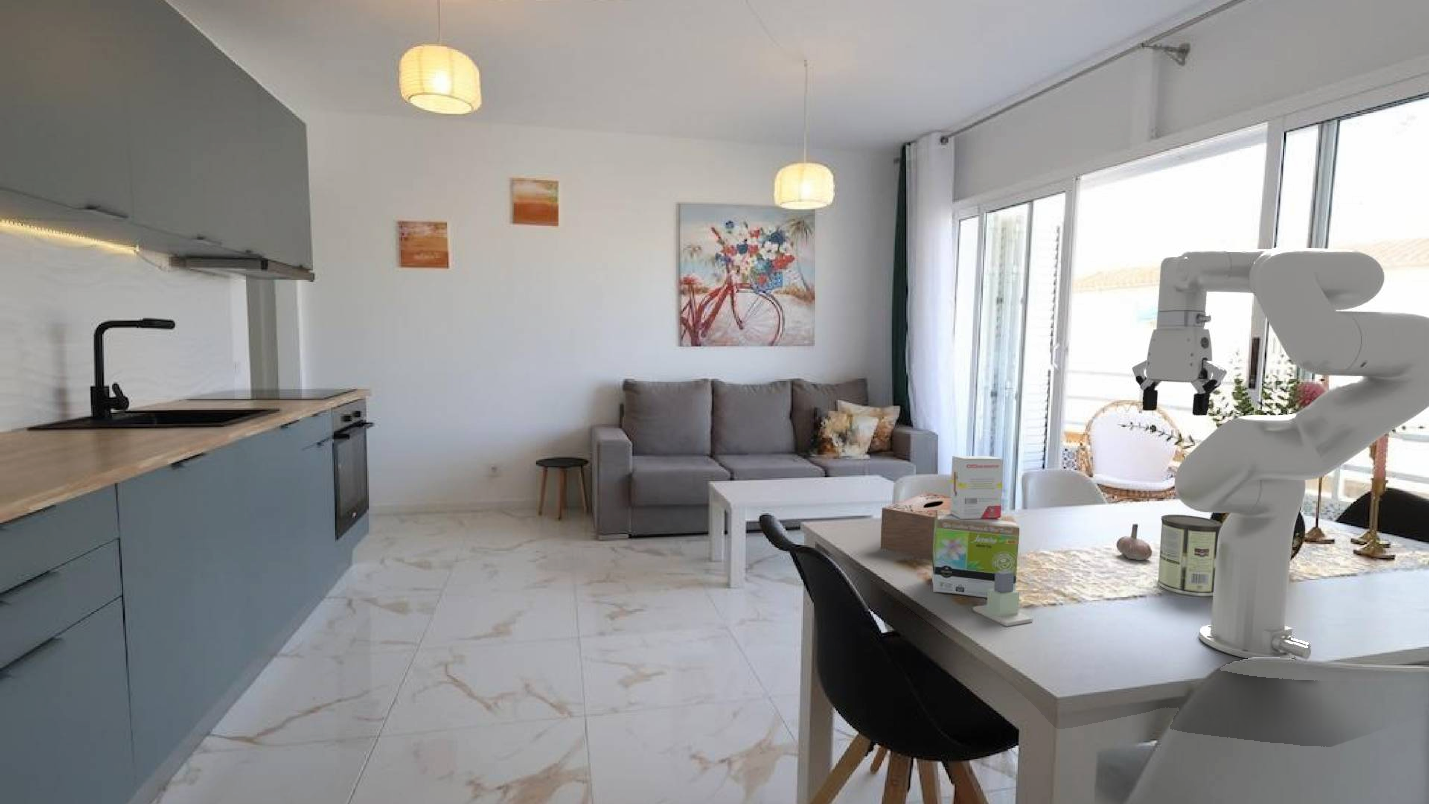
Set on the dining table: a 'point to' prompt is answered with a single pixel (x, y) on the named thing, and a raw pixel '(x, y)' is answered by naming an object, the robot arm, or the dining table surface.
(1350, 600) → the dining table surface
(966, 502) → the ink box
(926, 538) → the tissue box cover
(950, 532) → the tea box
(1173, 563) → the coffee can
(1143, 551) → the garlic bulb
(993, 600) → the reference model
